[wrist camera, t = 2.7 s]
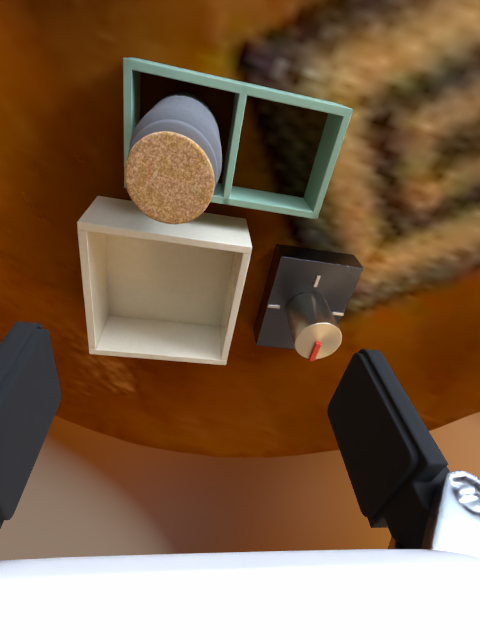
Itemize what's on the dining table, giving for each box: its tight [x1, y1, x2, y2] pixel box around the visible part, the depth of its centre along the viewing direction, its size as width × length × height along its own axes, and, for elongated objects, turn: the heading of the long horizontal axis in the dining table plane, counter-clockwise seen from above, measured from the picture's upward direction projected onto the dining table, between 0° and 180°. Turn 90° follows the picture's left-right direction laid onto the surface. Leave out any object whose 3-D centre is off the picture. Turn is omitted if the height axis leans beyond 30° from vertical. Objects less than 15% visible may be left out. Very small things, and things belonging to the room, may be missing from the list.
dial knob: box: [285, 292, 342, 361], centre depth 37 cm, size 5×5×6 cm
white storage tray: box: [77, 196, 252, 365], centre depth 36 cm, size 14×14×7 cm
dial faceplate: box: [254, 244, 363, 349], centre depth 40 cm, size 12×9×3 cm
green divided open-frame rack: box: [123, 57, 353, 219], centre depth 29 cm, size 9×17×4 cm, turn 79°
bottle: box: [124, 92, 222, 224], centre depth 24 cm, size 6×6×15 cm
